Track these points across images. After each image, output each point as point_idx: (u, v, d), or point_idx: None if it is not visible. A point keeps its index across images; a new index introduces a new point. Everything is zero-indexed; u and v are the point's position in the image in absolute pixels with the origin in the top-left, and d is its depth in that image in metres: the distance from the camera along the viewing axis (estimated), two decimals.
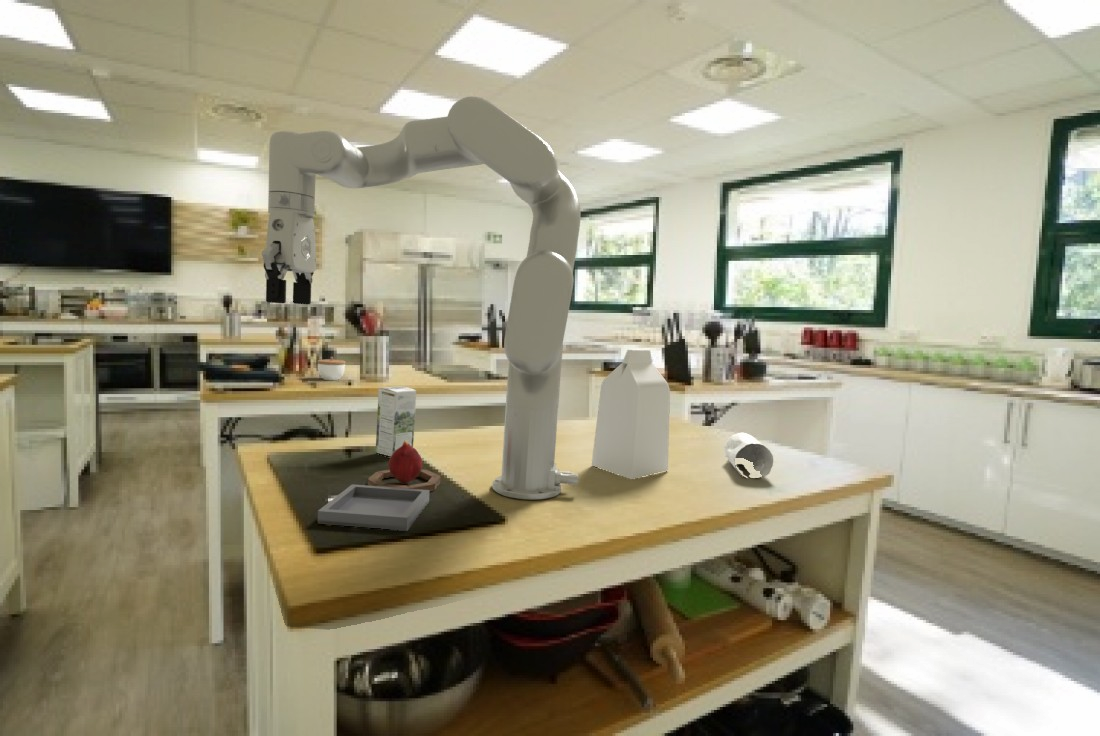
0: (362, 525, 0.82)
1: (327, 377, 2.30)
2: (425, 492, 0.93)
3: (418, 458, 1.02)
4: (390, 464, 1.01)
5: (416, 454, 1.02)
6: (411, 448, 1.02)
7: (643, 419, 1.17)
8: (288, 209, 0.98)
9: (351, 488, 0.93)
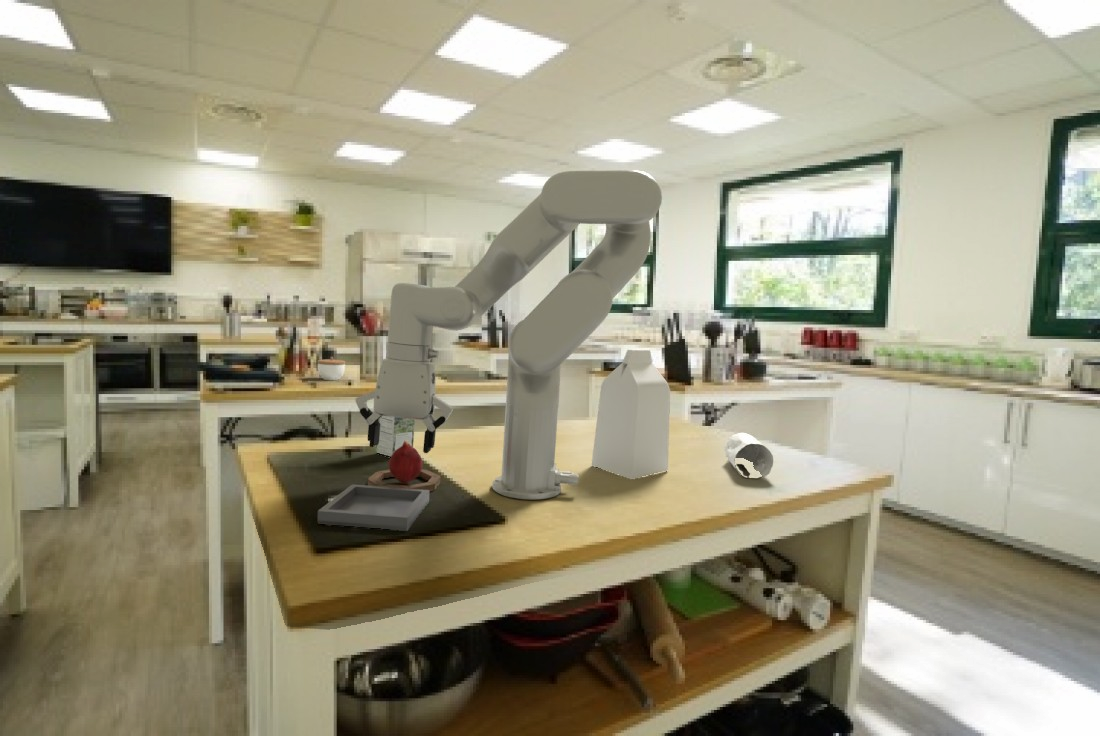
0: (362, 525, 0.82)
1: (327, 377, 2.30)
2: (425, 492, 0.93)
3: (418, 458, 1.02)
4: (390, 464, 1.01)
5: (416, 454, 1.02)
6: (411, 448, 1.02)
7: (643, 419, 1.17)
8: None
9: (351, 488, 0.93)
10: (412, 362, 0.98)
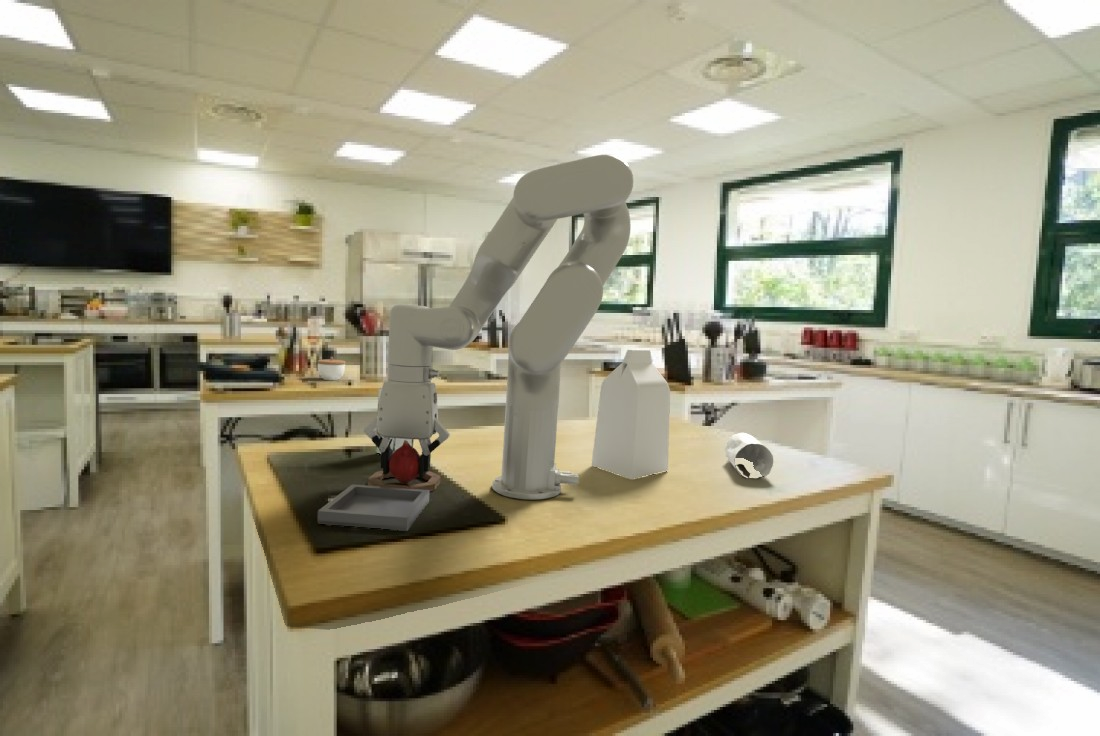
0: (362, 525, 0.82)
1: (327, 377, 2.30)
2: (425, 492, 0.93)
3: (418, 458, 1.02)
4: (390, 464, 1.01)
5: (416, 454, 1.02)
6: (411, 448, 1.02)
7: (643, 419, 1.17)
8: (430, 381, 1.03)
9: (351, 488, 0.93)
10: (413, 383, 0.98)
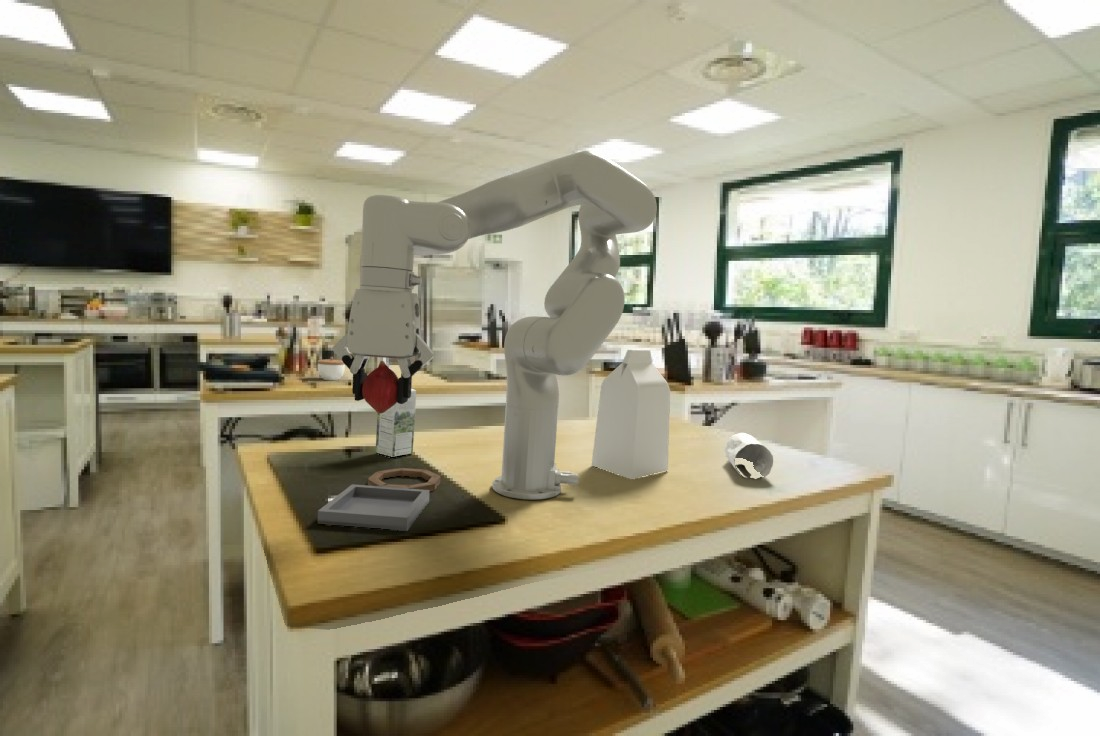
0: (362, 525, 0.82)
1: (327, 377, 2.30)
2: (425, 492, 0.93)
3: (397, 381, 0.86)
4: (363, 388, 0.85)
5: (394, 377, 0.86)
6: (388, 370, 0.86)
7: (643, 419, 1.17)
8: (411, 290, 0.86)
9: (351, 488, 0.93)
10: (390, 288, 0.82)
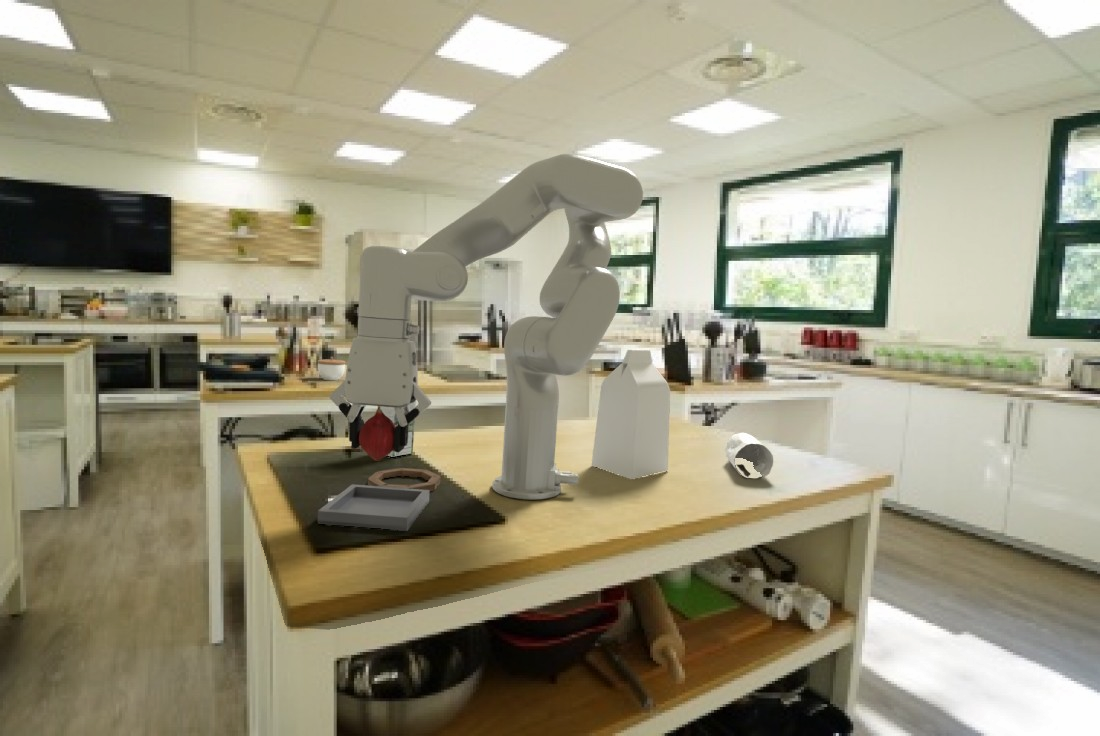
0: (362, 525, 0.82)
1: (327, 377, 2.30)
2: (425, 492, 0.93)
3: (393, 430, 0.86)
4: (360, 436, 0.85)
5: (391, 425, 0.86)
6: (385, 418, 0.86)
7: (643, 419, 1.17)
8: None
9: (351, 488, 0.93)
10: (387, 339, 0.82)
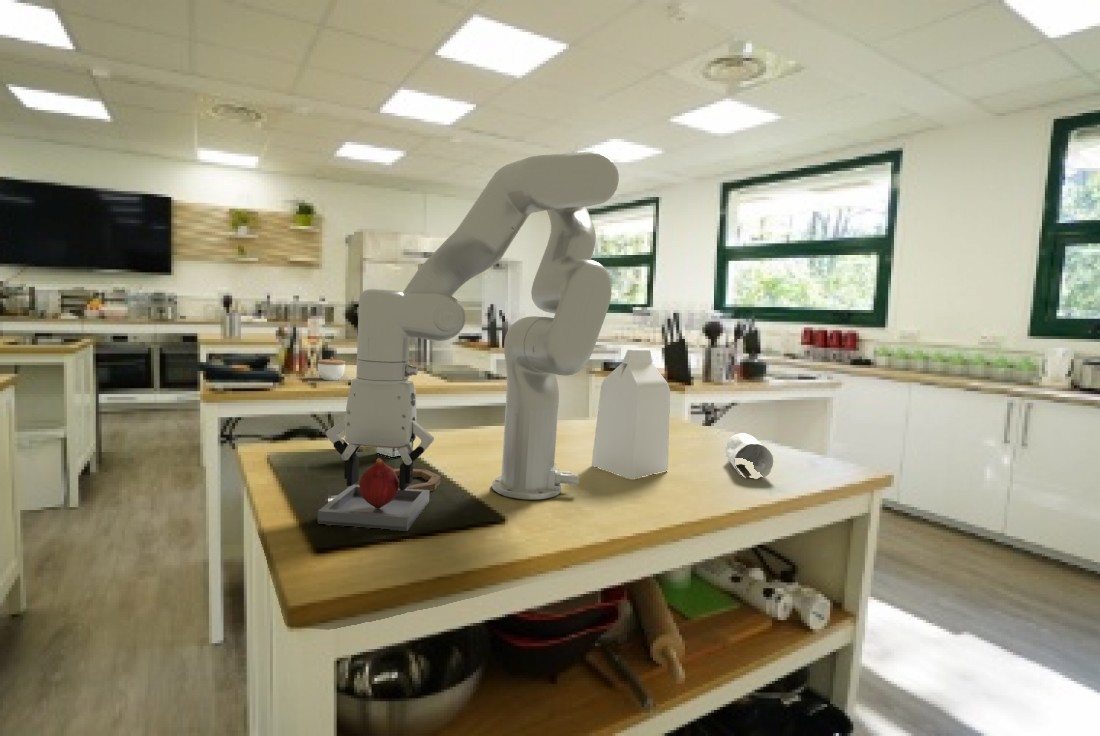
0: (362, 525, 0.82)
1: (327, 377, 2.30)
2: (425, 492, 0.93)
3: (394, 479, 0.87)
4: (360, 486, 0.86)
5: (391, 474, 0.87)
6: (385, 468, 0.87)
7: (643, 419, 1.17)
8: None
9: (351, 488, 0.93)
10: (386, 382, 0.83)
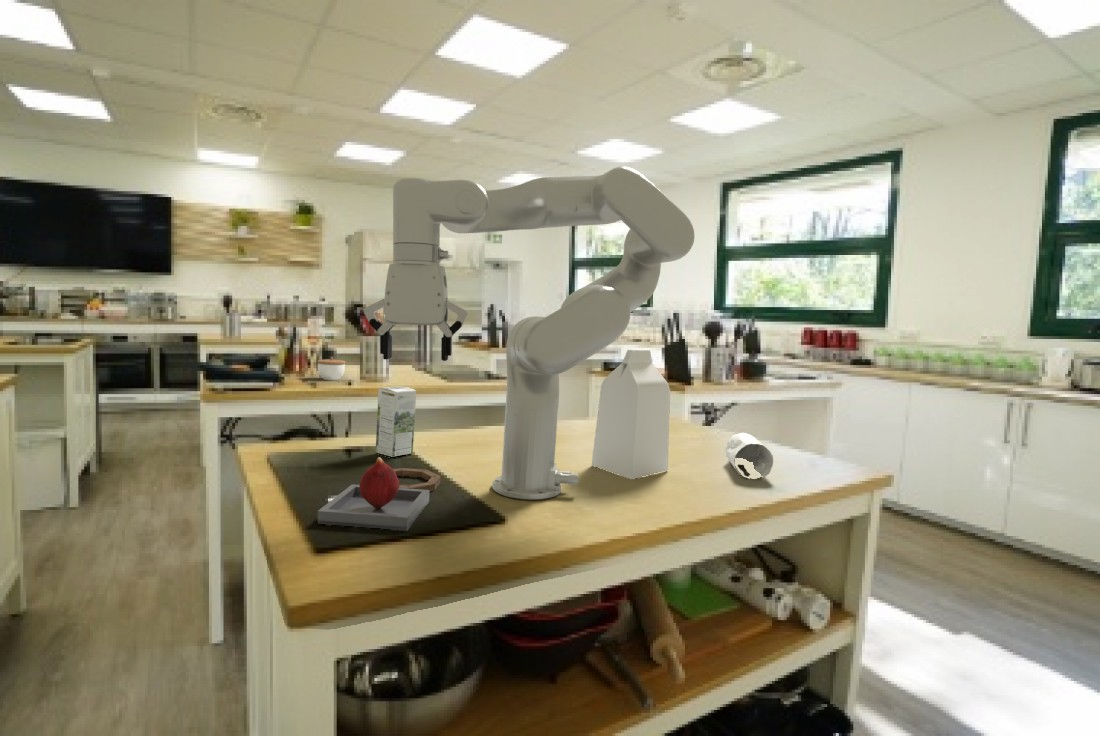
0: (362, 525, 0.82)
1: (327, 377, 2.30)
2: (425, 492, 0.93)
3: (394, 478, 0.87)
4: (361, 486, 0.86)
5: (391, 474, 0.87)
6: (385, 467, 0.87)
7: (643, 419, 1.17)
8: (438, 264, 0.96)
9: (351, 488, 0.93)
10: (423, 262, 0.92)
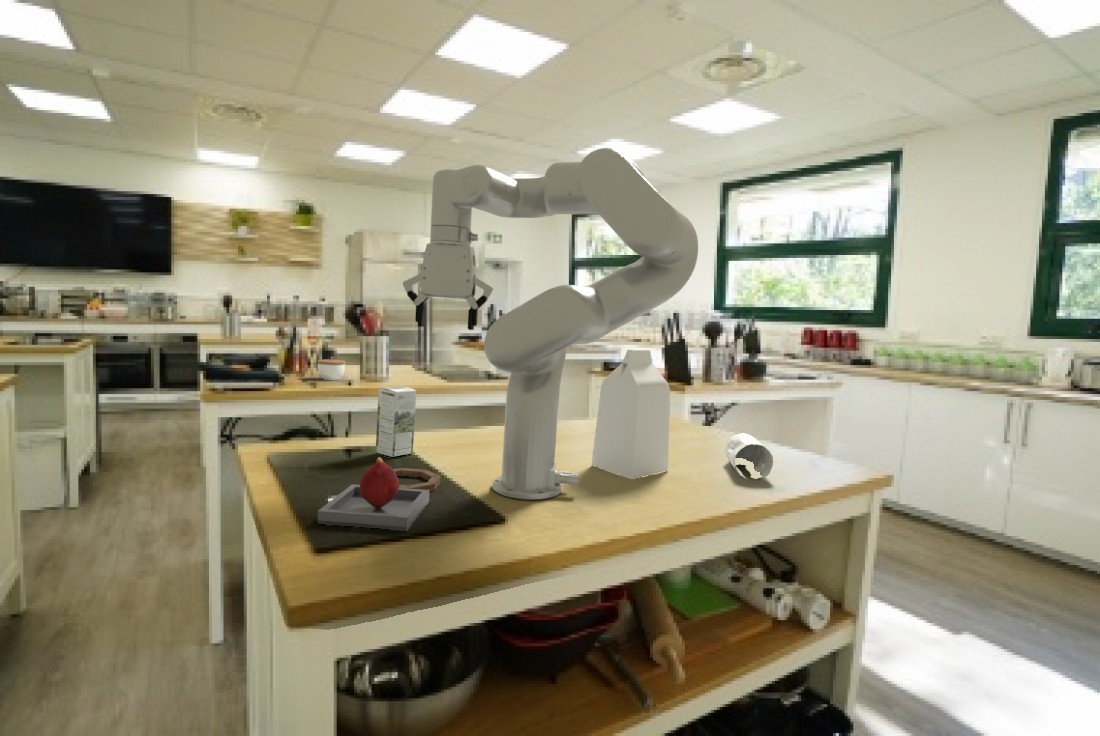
0: (362, 525, 0.82)
1: (327, 377, 2.30)
2: (425, 492, 0.93)
3: (394, 478, 0.87)
4: (361, 486, 0.86)
5: (391, 474, 0.87)
6: (385, 467, 0.87)
7: (643, 419, 1.17)
8: (469, 245, 1.10)
9: (351, 488, 0.93)
10: (455, 242, 1.06)
